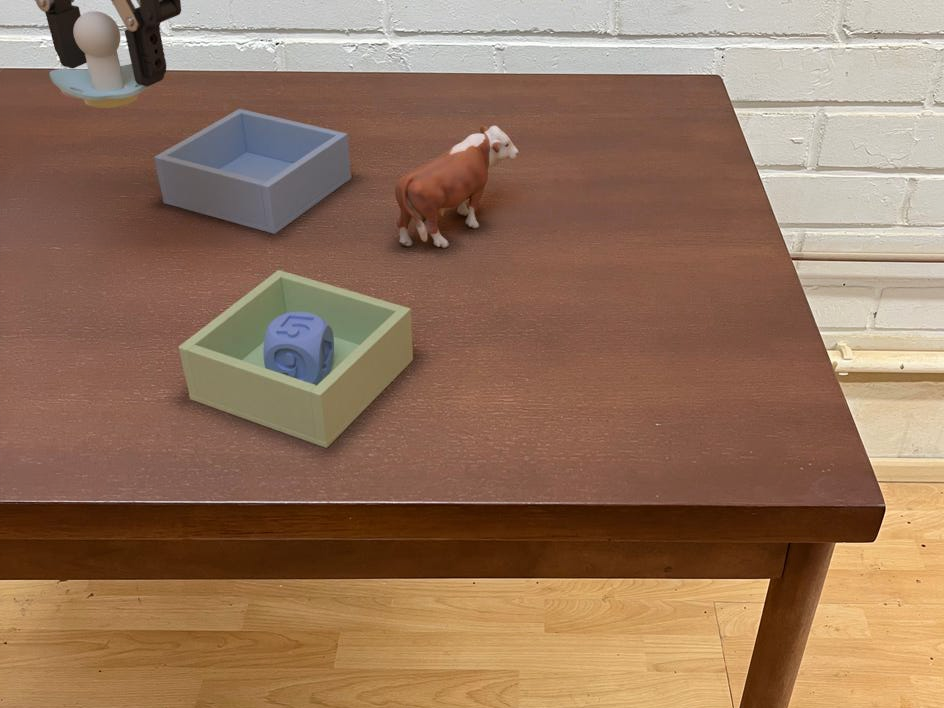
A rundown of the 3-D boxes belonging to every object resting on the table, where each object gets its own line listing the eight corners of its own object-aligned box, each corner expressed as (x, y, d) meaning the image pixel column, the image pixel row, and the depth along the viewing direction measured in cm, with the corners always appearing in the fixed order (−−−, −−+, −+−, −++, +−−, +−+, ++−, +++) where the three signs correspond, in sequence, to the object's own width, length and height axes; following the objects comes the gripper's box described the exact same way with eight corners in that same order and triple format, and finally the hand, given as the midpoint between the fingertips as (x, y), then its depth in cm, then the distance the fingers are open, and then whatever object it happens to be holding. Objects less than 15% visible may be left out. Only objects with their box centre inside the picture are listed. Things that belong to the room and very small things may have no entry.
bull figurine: (523, 213, 93) (527, 126, 87) (416, 265, 85) (412, 174, 80) (489, 197, 95) (491, 111, 89) (382, 246, 88) (376, 157, 82)
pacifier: (54, 89, 73) (60, 118, 69) (31, -3, 69) (36, 23, 65) (157, 78, 76) (168, 106, 71) (140, -12, 71) (151, 13, 67)
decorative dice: (336, 359, 74) (331, 313, 71) (322, 392, 71) (316, 345, 69) (283, 354, 75) (277, 308, 72) (267, 386, 72) (259, 339, 69)
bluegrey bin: (163, 203, 93) (153, 156, 90) (246, 152, 102) (239, 108, 99) (274, 234, 89) (267, 186, 86) (351, 178, 98) (347, 133, 95)
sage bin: (189, 399, 71) (177, 346, 68) (285, 319, 79) (278, 269, 76) (326, 448, 67) (320, 395, 64) (413, 359, 75) (411, 308, 72)
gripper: (184, -209, 60) (228, 75, 71) (10, -229, 65) (76, 40, 76) (93, -191, 55) (155, 111, 66) (-88, -214, 60) (-2, 71, 71)
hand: (112, 72), depth 71 cm, fingers closed on pacifier, 6 cm apart
